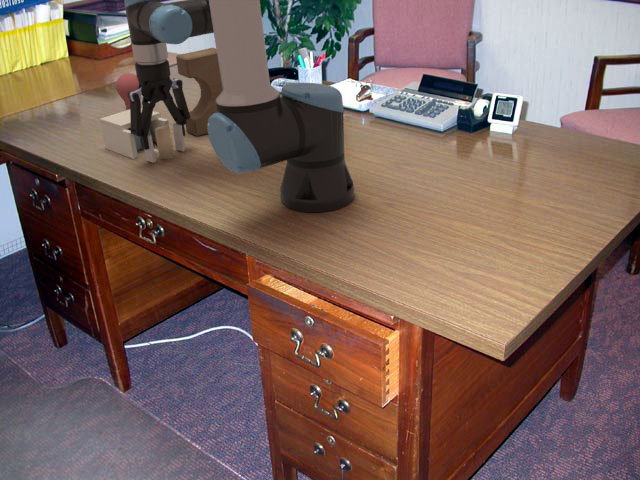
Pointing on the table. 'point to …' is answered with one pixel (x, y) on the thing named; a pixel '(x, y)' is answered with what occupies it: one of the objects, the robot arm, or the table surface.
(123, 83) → the light bulb
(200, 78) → the decorative block
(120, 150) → the shelf lane
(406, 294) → the table surface
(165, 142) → the tethered block
